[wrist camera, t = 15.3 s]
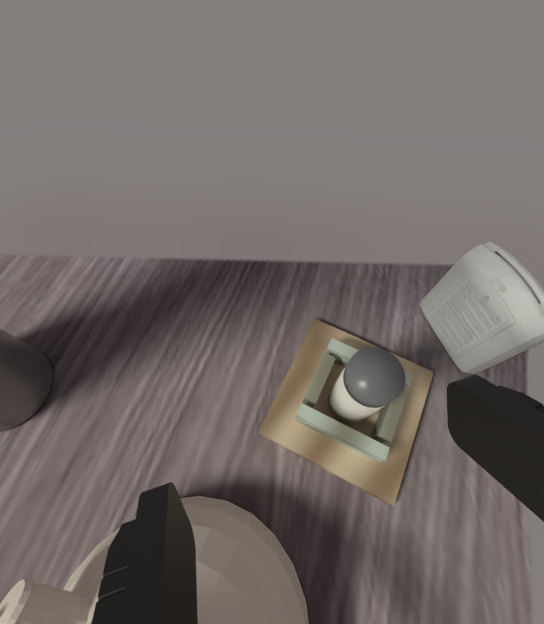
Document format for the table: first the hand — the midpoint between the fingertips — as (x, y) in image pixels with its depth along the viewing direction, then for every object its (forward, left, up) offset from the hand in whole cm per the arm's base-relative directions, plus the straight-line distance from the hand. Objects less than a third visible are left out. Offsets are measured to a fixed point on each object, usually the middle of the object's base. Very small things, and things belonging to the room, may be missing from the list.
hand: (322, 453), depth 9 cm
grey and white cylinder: (+3, +9, -25) cm, 26 cm away
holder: (+3, +9, -26) cm, 27 cm away
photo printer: (+11, +22, -26) cm, 36 cm away
